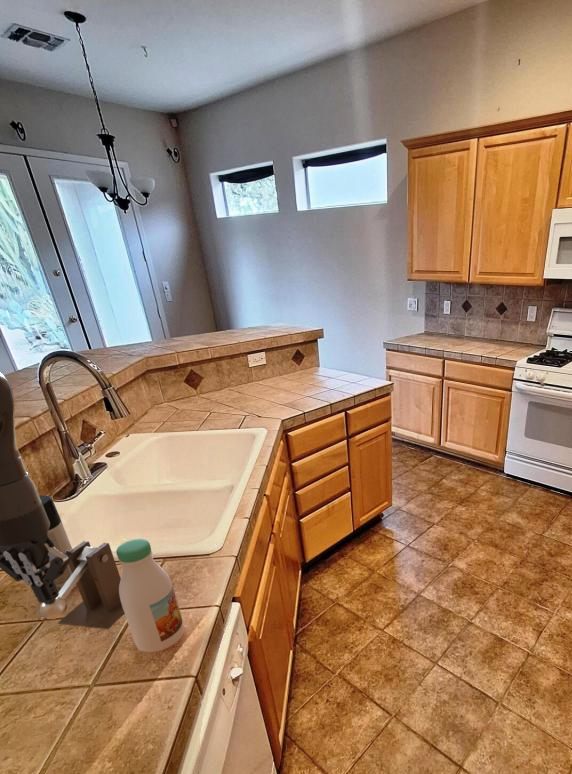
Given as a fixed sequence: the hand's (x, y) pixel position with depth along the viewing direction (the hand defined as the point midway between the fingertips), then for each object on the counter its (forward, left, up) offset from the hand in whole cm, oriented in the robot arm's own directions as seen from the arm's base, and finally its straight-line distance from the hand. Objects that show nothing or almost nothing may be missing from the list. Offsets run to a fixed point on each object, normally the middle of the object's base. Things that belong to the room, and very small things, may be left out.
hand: (49, 599), depth 70 cm
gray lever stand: (0, +9, -10) cm, 14 cm away
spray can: (-13, +14, -10) cm, 21 cm away
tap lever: (0, +5, -2) cm, 5 cm away
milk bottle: (+15, +3, -10) cm, 19 cm away
